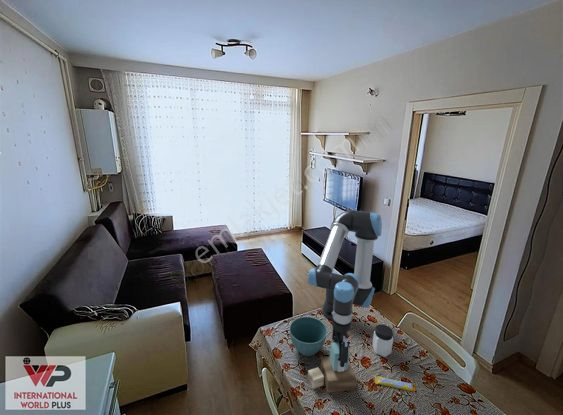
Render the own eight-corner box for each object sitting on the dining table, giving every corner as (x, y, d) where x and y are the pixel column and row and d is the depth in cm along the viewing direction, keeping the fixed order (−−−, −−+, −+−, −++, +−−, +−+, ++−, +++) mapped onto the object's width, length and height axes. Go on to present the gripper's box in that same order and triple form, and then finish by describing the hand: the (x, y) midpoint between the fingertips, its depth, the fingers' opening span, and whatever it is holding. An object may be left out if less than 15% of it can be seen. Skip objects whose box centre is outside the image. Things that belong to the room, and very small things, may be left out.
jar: (383, 359, 124) (385, 339, 120) (369, 348, 130) (371, 328, 127) (394, 351, 128) (397, 331, 125) (380, 340, 135) (382, 321, 132)
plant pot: (283, 356, 125) (283, 335, 122) (297, 331, 141) (298, 312, 138) (318, 370, 118) (320, 348, 114) (330, 343, 133) (331, 323, 130)
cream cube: (307, 379, 114) (308, 370, 112) (317, 375, 115) (318, 366, 114) (313, 389, 109) (313, 380, 108) (323, 385, 111) (323, 376, 109)
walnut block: (320, 367, 119) (321, 357, 118) (345, 365, 120) (346, 354, 119) (327, 392, 108) (328, 381, 106) (355, 389, 109) (356, 378, 107)
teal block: (329, 359, 115) (330, 342, 112) (342, 358, 115) (344, 341, 113) (333, 371, 109) (334, 353, 106) (347, 369, 110) (349, 352, 107)
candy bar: (414, 385, 112) (414, 381, 111) (416, 394, 108) (417, 390, 107) (373, 376, 115) (373, 373, 115) (374, 385, 111) (374, 381, 111)
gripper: (326, 304, 114) (324, 347, 121) (340, 336, 96) (336, 385, 103) (343, 303, 115) (339, 346, 121) (359, 335, 97) (354, 383, 103)
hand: (338, 363), depth 112 cm, fingers closed on teal block, 6 cm apart
